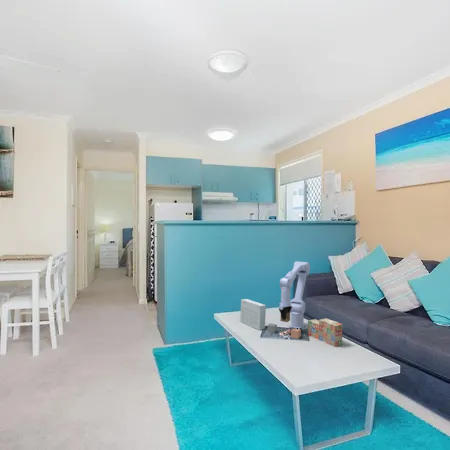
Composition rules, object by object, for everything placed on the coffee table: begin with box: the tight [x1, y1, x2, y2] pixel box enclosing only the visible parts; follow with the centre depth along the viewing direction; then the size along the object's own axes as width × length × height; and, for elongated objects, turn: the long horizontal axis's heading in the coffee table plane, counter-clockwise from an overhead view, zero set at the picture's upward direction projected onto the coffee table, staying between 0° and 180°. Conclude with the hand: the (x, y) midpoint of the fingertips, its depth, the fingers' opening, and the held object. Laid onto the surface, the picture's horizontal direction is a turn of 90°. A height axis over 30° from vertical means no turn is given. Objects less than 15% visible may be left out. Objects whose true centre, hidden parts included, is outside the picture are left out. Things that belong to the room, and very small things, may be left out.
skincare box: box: [239, 298, 267, 331], centre depth 215 cm, size 21×5×16 cm, turn 34°
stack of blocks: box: [307, 318, 343, 347], centre depth 190 cm, size 21×6×12 cm, turn 30°
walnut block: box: [280, 311, 291, 323], centre depth 200 cm, size 4×4×6 cm
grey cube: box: [266, 323, 278, 334], centre depth 203 cm, size 4×4×4 cm
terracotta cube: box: [290, 327, 302, 340], centre depth 194 cm, size 4×4×4 cm
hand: (285, 318), depth 200 cm, fingers closed on walnut block, 4 cm apart
